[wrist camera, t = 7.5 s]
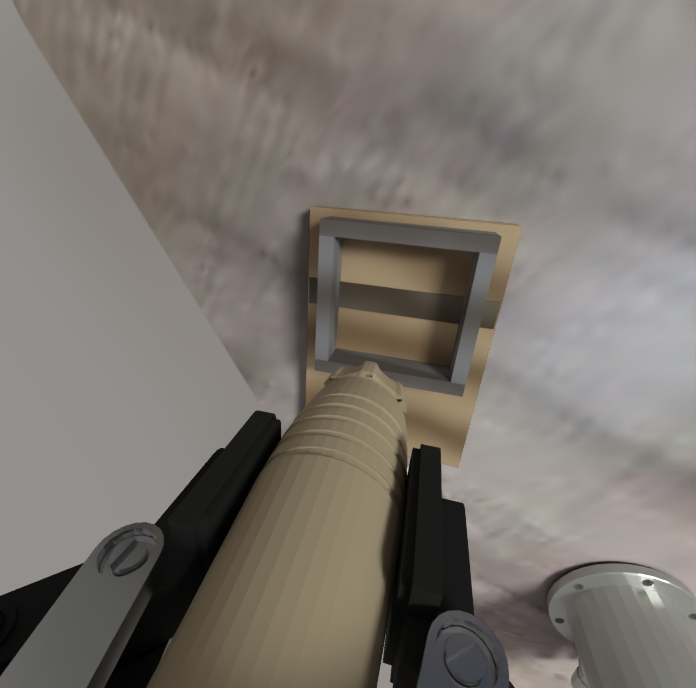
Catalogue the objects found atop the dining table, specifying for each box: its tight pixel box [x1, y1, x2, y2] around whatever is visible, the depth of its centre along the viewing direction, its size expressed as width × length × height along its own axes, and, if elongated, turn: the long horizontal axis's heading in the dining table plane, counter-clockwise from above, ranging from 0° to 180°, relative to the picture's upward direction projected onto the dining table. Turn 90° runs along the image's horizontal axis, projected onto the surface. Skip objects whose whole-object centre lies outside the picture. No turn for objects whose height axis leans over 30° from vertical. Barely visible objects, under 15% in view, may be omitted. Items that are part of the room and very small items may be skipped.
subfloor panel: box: [305, 206, 522, 467], centre depth 27 cm, size 20×14×4 cm
